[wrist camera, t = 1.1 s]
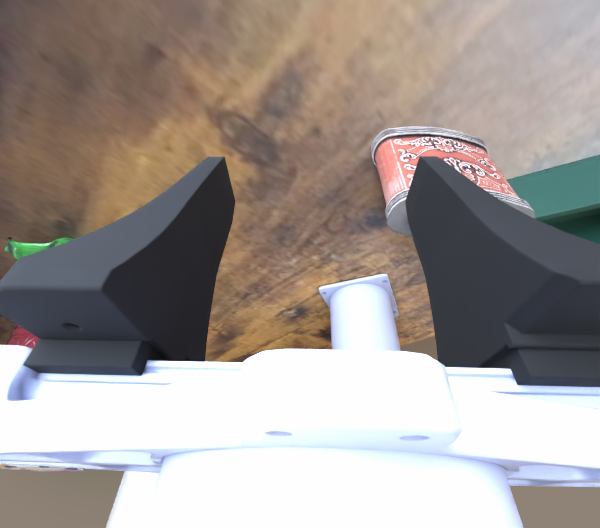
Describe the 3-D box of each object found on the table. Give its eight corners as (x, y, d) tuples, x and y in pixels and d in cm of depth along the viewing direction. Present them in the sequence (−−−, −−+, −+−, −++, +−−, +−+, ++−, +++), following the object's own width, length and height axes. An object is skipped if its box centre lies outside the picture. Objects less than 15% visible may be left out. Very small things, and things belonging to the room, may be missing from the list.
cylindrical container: (200, 375, 60) (159, 543, 44) (185, 383, 64) (142, 539, 48) (166, 366, 56) (108, 545, 40) (152, 374, 60) (95, 540, 44)
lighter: (365, 166, 22) (386, 269, 16) (378, 120, 19) (410, 223, 13) (468, 176, 22) (529, 281, 16) (494, 133, 20) (580, 239, 13)
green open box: (632, 206, 24) (674, 245, 21) (465, 243, 28) (482, 280, 25) (672, 134, 19) (733, 171, 17) (467, 190, 23) (488, 228, 21)
